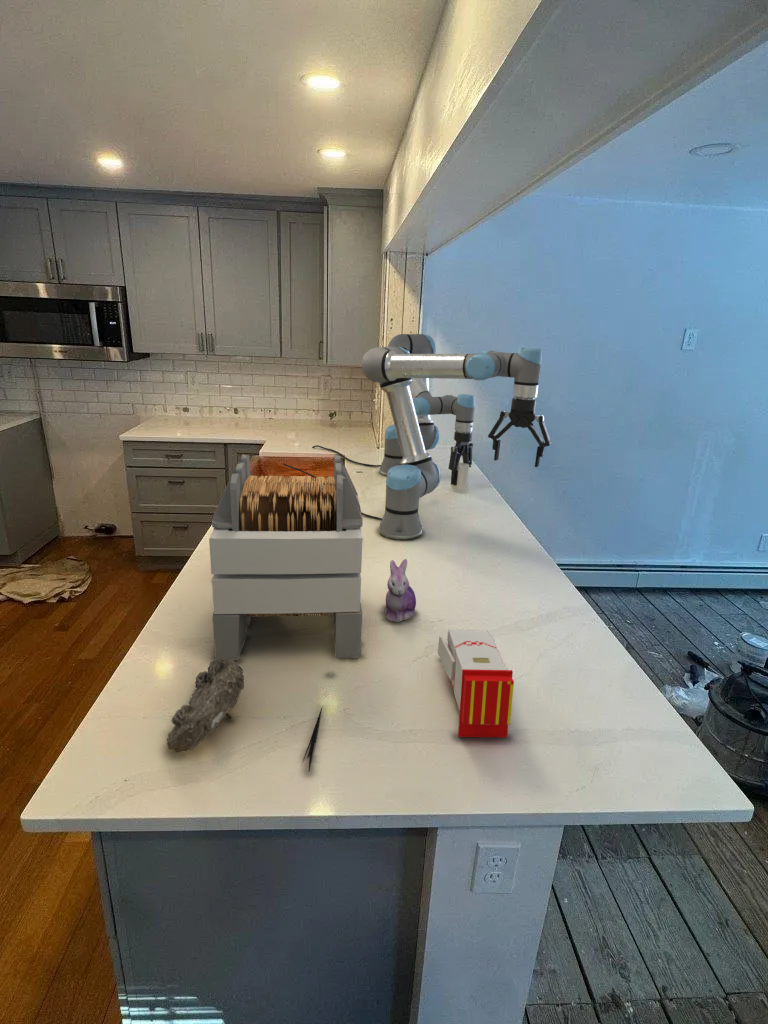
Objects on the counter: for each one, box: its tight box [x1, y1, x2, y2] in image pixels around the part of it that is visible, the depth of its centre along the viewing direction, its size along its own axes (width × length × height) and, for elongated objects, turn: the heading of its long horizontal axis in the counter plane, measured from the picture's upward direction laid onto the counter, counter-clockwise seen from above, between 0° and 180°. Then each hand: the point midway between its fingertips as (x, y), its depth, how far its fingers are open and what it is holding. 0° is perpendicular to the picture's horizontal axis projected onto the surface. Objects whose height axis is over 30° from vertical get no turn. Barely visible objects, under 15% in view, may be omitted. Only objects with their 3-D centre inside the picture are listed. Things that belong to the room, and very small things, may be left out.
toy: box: [437, 628, 515, 738], centre depth 117 cm, size 12×13×30 cm
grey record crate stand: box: [208, 453, 364, 661], centre depth 135 cm, size 34×33×41 cm
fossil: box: [166, 659, 245, 754], centre depth 106 cm, size 22×10×15 cm
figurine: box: [384, 558, 417, 623], centre depth 145 cm, size 9×10×15 cm
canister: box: [450, 461, 470, 491], centre depth 248 cm, size 7×7×10 cm
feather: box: [301, 673, 332, 771], centre depth 108 cm, size 2×28×2 cm
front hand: (516, 462), depth 187 cm, fingers open, 13 cm apart
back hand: (458, 482), depth 249 cm, fingers closed on canister, 7 cm apart
